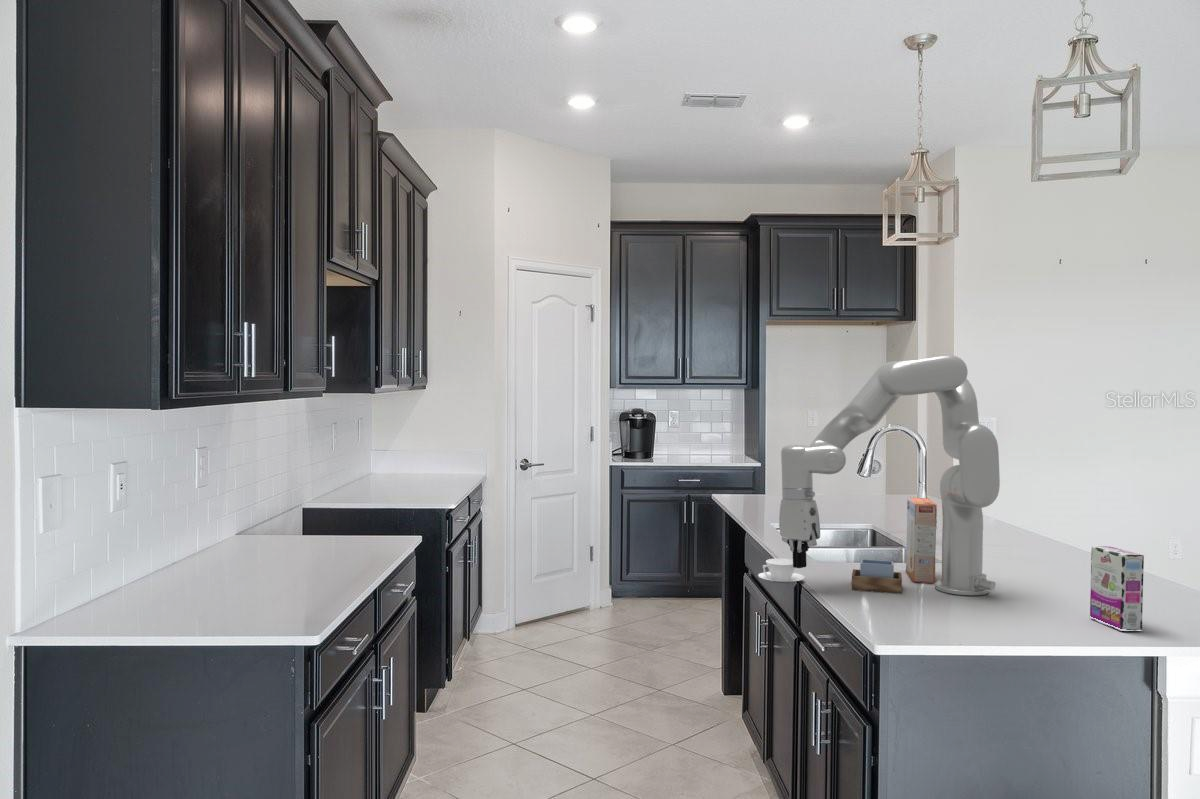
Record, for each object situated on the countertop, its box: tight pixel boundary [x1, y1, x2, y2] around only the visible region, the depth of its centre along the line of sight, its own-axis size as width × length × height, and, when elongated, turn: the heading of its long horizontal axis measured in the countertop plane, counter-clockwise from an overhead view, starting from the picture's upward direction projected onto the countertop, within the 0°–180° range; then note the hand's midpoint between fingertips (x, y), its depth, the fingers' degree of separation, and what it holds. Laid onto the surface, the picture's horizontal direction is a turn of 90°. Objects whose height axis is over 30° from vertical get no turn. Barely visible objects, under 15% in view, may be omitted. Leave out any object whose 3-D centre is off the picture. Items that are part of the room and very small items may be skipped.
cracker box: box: [905, 497, 938, 584], centre depth 243 cm, size 14×6×21 cm, turn 168°
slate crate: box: [859, 558, 895, 578], centre depth 230 cm, size 8×6×6 cm
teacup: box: [758, 558, 805, 584], centre depth 237 cm, size 12×12×5 cm
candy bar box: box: [1089, 545, 1145, 631], centre depth 196 cm, size 11×5×16 cm, turn 5°
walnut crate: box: [851, 568, 903, 594], centre depth 230 cm, size 12×9×4 cm
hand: (799, 567), depth 227 cm, fingers closed
